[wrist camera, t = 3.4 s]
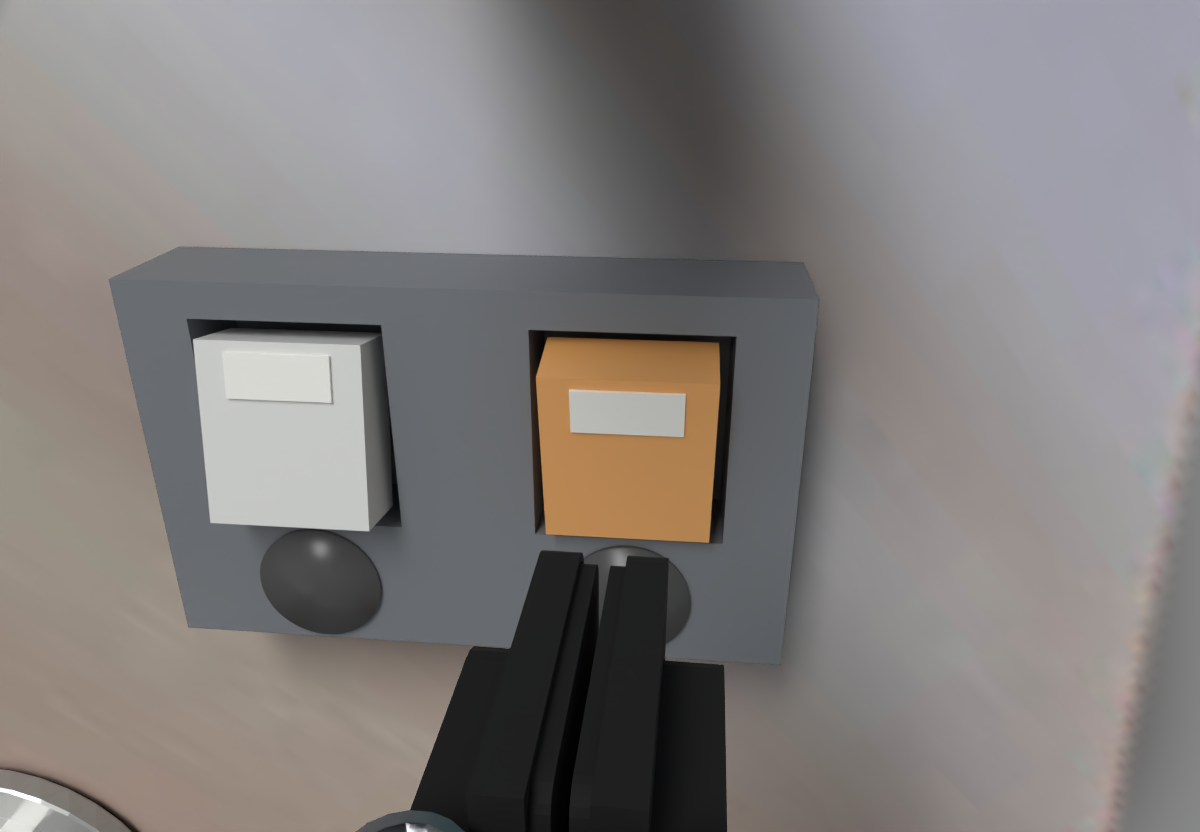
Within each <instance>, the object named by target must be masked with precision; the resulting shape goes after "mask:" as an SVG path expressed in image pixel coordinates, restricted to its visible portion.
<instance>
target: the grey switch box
mask: <svg viewBox="0 0 1200 832" xmlns="http://www.w3.org/2000/svg"><path fill="white" fill-rule="evenodd" d="M109 283H110V288H111V292H112V296H113V301H114V305H115V309H116V314H117V318H118V323H119V327H120V331H121V336H122V340H123V344H124V349H125V353H126V357H127V362H128V366H129V371H130V375H131V379H132V384H133V388H134V392H135V397H136V401H137V405H138V410H139V414H140V419H141V423H142V427H143V432H144V436H145V440H146V445H147V449H148V454H149V458H150V462H151V467H152V471H153V475H154V480H155V484H156V488H157V493H158V497H159V502H160V506H161V510H162V515H163V519H164V523H165V528H166V532H167V536H168V541H169V545H170V550H171V554H172V558H173V563H174V567H175V571H176V576H177V580H178V585H179V589H180V593H181V598H182V602H183V606H184V611H185V615H186V619H187V624H188V627H190V628H206V629H221V630H237V631H253V632H269V633H284V634H300V635H316V636H331V637H347V638H363V639H379V640H394V641H410V642H426V643H442V644H457V645H473V646H489V647H504V648H511V644H512V641H513V638H514V635H515V631H516V628H517V625H518V622H519V618H520V615H521V612H522V609H523V605H524V602H525V599H526V596H527V592H528V589H529V586H530V583H531V579H532V576H533V573H534V570H535V566H536V563H537V560H538V557H539V554H540V552H541V551H542V550H549V551H565V552H581V553H583V556H584V564H595V565H598V568H599V627H600V621H601V615H602V610H603V604H604V598H605V593H606V587H607V581H608V576H609V570H610V566H626V561H627V556H644V557H660V558H669V573H668V599H667V624H666V650H665V658H677V659H693V660H709V661H725V662H740V663H756V664H772V665H781V658H782V648H783V639H784V629H785V620H786V610H787V601H788V591H789V582H790V572H791V563H792V553H793V544H794V534H795V525H796V515H797V506H798V496H799V487H800V477H801V468H802V458H803V449H804V439H805V430H806V420H807V411H808V401H809V392H810V382H811V373H812V363H813V354H814V344H815V335H816V325H817V316H818V307H819V298H818V296H817V293H816V291H815V289H814V287H813V284H812V282H811V280H810V277H809V275H808V273H807V270H806V268H805V266H804V263H797V262H757V261H718V260H679V259H639V258H600V257H561V256H522V255H482V254H443V253H404V252H364V251H325V250H286V249H246V248H207V247H178V248H175V249H173V250H171V251H169V252H167V253H165V254H162V255H160V256H158V257H156V258H154V259H152V260H149V261H147V262H145V263H143V264H141V265H138V266H136V267H134V268H132V269H130V270H128V271H125V272H123V273H121V274H119V275H117V276H115V277H112V278H110V279H109ZM229 328H254V329H284V330H314V331H344V332H374V333H382V338H383V348H384V358H385V367H386V377H387V387H388V397H389V422H390V446H391V470H392V494H393V506H392V507H391V508H390V509H389V511H388V512H387V513H386V514H385V515H384V516H383V517H382V518H381V519H380V520H379V521H378V522H377V523H376V525H375V526H374V527H373V528H372V529H371V530H370V531H353V530H334V529H315V528H296V527H277V526H258V525H239V524H221V523H210V513H209V503H208V492H207V482H206V471H205V461H204V450H203V440H202V429H201V419H200V408H199V398H198V387H197V376H196V366H195V355H194V345H193V339H196V338H199V337H203V336H206V335H209V334H212V333H216V332H219V331H222V330H225V329H229ZM547 337H567V338H597V339H627V340H657V341H687V342H717V343H719V357H720V396H719V410H718V424H717V438H716V452H715V466H714V480H713V494H712V509H711V523H710V537H709V543H703V542H684V541H664V540H645V539H626V538H607V537H588V536H569V535H550V534H546V527H545V511H544V496H543V481H542V465H541V450H540V434H539V419H538V404H537V388H536V375H537V372H538V368H539V365H540V361H541V358H542V355H543V351H544V348H545V344H546V341H547Z"/></svg>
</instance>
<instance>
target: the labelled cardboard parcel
mask: <svg viewBox="0 0 1200 832" xmlns="http://www.w3.org/2000/svg"><path fill="white" fill-rule="evenodd" d="M536 388H537V404H538V419H539V434H540V450H541V465H542V481H543V496H544V511H545V527H546V534H550V535H569V536H588V537H607V538H626V539H645V540H664V541H684V542H703V543H709V537H710V523H711V509H712V494H713V480H714V466H715V452H716V438H717V424H718V410H719V396H720V357H719V343H717V342H687V341H657V340H627V339H597V338H567V337H547V341H546V344H545V348H544V351H543V355H542V358H541V361H540V365H539V368H538V372H537V375H536Z"/></svg>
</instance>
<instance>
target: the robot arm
mask: <svg viewBox="0 0 1200 832" xmlns="http://www.w3.org/2000/svg"><path fill="white" fill-rule="evenodd" d="M668 573H669V558H660V557H644V556H627V561H626V566H610V570H609V576H608V581H607V587H606V593H605V598H604V604H603V610H602V615H601V621H600V627H599V568H598V565H595V564H584V556H583V553H581V552H565V551H549V550H542V551H541V552H540V554H539V557H538V560H537V563H536V566H535V570H534V573H533V576H532V579H531V583H530V586H529V589H528V592H527V596H526V599H525V602H524V605H523V609H522V612H521V615H520V618H519V622H518V625H517V628H516V631H515V635H514V638H513V641H512V644H511V648H510V649H503V648H490V647H476V646H474V647H473V648H472V649H471V650H470V651H469V654H468V656H467V658H466V660H465V663H464V666H463V668H462V671H461V674H460V677H459V679H458V682H457V685H456V687H455V690H454V693H453V696H452V698H451V701H450V704H449V706H448V709H447V712H446V715H445V717H444V720H443V723H442V725H441V728H440V731H439V733H438V736H437V739H436V742H435V744H434V747H433V750H432V752H431V755H430V758H429V761H428V763H427V766H426V769H425V771H424V774H423V777H422V780H421V782H420V785H419V788H418V790H417V793H416V796H415V799H414V801H413V804H412V807H411V809H410V810H409V811H403V812H397V813H391V814H387V815H385V816H383V817H380V818H378V819H376V820H373V821H371V822H369V823H367V824H366V825H364V826H363V827H361V828H360V829H359V830H357V831H356V832H727V802H726V745H725V688H724V666H723V665H716V664H703V663H690V662H676V661H665V650H666V624H667V599H668ZM0 832H132V831H131V830H130V829H129V828H128V827H127V826H125V825H124V824H123V823H122V822H121V821H120V820H119V819H117V818H116V817H115V816H113V815H112V814H110V813H109V812H108V811H106V810H105V809H103V808H102V807H101V806H99V805H98V804H96V803H94V802H93V801H91V800H89V799H87V798H85V797H83V796H82V795H80V794H78V793H76V792H74V791H72V790H70V789H68V788H66V787H63V786H61V785H58V784H55V783H53V782H50V781H48V780H45V779H43V778H39V777H36V776H32V775H28V774H24V773H20V772H16V771H11V770H3V769H0Z"/></svg>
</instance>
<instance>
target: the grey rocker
mask: <svg viewBox="0 0 1200 832" xmlns="http://www.w3.org/2000/svg"><path fill="white" fill-rule="evenodd" d="M193 345H194V355H195V366H196V376H197V387H198V398H199V408H200V419H201V429H202V440H203V450H204V461H205V471H206V482H207V492H208V503H209V513H210V523H221V524H239V525H258V526H277V527H296V528H315V529H334V530H353V531H370V530H371V529H372V528H373V527H374V526H375V525H376V523H377V522H378V521H379V520H380V519H381V518H382V517H383V516H384V515H385V514H386V513H387V512H388V511H389V509H390V508H391V507H392V506H393V494H392V470H391V446H390V422H389V397H388V387H387V377H386V367H385V358H384V348H383V338H382V333H374V332H344V331H314V330H284V329H254V328H229V329H225V330H222V331H219V332H216V333H212V334H209V335H206V336H203V337H199V338H196V339H193Z"/></svg>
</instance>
